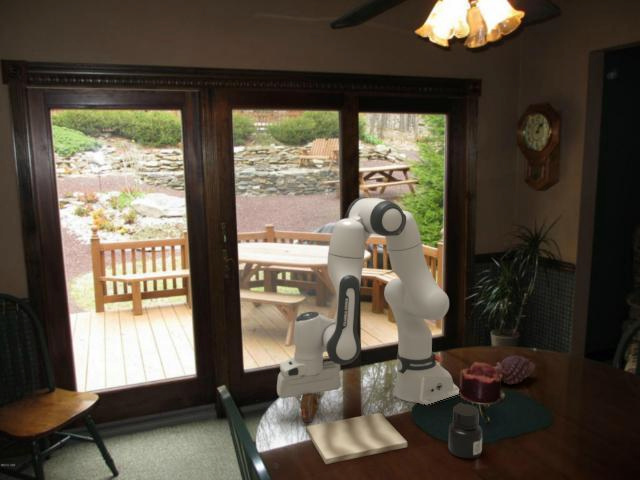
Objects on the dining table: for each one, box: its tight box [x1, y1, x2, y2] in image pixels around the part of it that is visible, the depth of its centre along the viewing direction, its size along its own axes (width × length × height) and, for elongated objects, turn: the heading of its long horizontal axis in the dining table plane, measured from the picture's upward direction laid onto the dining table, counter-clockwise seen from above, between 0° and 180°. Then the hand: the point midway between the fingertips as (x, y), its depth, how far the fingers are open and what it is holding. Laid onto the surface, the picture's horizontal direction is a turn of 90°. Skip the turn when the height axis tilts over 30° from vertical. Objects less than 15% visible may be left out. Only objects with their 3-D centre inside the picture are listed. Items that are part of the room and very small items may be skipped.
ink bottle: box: [447, 403, 483, 459], centre depth 143 cm, size 10×9×12 cm
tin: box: [300, 393, 319, 423], centre depth 165 cm, size 15×3×8 cm, turn 168°
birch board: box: [305, 412, 408, 465], centre depth 151 cm, size 24×18×2 cm
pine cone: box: [491, 355, 536, 385], centre depth 185 cm, size 18×10×10 cm, turn 109°
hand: (309, 405), depth 165 cm, fingers closed on tin, 4 cm apart
